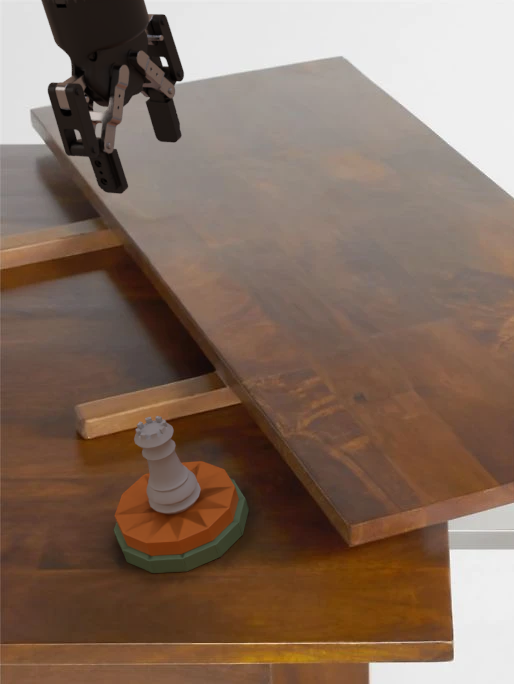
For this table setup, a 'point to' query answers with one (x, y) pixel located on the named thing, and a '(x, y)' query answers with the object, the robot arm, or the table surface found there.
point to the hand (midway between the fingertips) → (143, 165)
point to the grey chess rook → (165, 469)
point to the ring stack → (181, 523)
